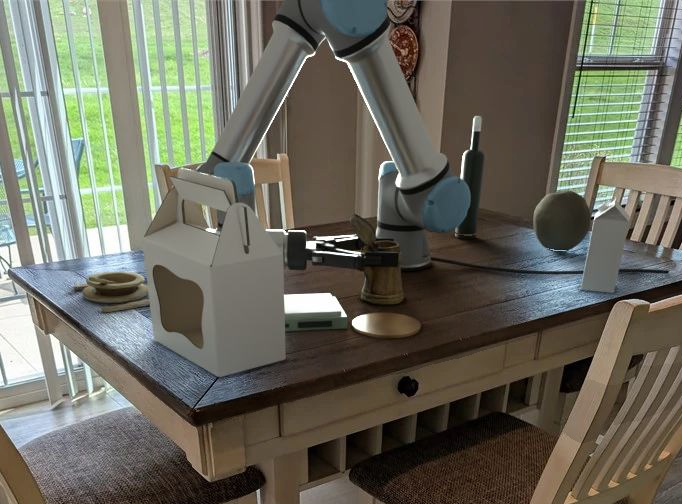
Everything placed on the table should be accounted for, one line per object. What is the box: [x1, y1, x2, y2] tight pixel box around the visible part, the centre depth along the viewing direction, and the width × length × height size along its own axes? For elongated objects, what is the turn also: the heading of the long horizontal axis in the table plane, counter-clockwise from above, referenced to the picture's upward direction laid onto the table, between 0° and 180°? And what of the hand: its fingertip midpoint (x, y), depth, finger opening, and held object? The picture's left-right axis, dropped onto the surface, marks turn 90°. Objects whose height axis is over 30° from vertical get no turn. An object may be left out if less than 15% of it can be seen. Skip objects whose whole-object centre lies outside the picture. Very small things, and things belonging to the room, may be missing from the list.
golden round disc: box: [351, 312, 422, 339], centre depth 137 cm, size 13×13×1 cm
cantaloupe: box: [532, 190, 591, 253], centre depth 186 cm, size 14×14×15 cm
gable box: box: [141, 167, 287, 379], centre depth 118 cm, size 22×13×28 cm, turn 40°
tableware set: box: [73, 271, 150, 313], centre depth 153 cm, size 30×20×6 cm, turn 125°
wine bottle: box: [454, 115, 486, 240], centre depth 195 cm, size 6×6×30 cm
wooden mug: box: [349, 213, 405, 306], centre depth 146 cm, size 9×14×18 cm, turn 134°
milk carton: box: [580, 194, 631, 294], centre depth 158 cm, size 7×7×19 cm
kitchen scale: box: [284, 292, 349, 332], centre depth 139 cm, size 14×13×3 cm
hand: (395, 252), depth 146 cm, fingers open, 11 cm apart
